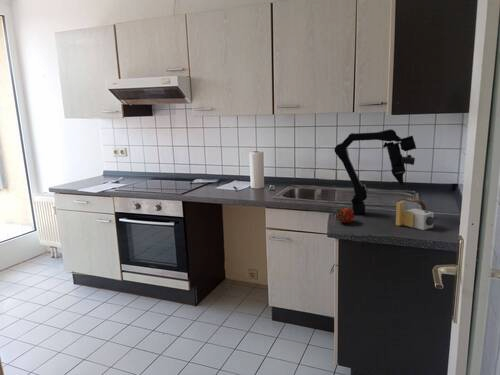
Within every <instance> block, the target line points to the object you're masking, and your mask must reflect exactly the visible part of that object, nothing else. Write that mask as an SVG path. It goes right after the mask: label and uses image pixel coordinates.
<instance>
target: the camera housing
mask: <svg viewBox="0 0 500 375" xmlns="http://www.w3.org/2000/svg"><path fill="white" fill-rule="evenodd" d="M405 212H409V213H413V214H414V227H413V229H414V228H415V229H418V230H422V231H425V230H428V229H433V228H434V221H435V219H434V216H435V213H434V212H432V211H429V210H426V211H424V210H420V209H411V210H406V211H405Z"/></svg>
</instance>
